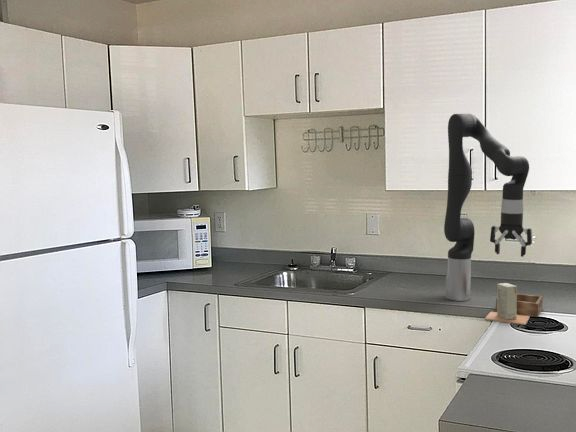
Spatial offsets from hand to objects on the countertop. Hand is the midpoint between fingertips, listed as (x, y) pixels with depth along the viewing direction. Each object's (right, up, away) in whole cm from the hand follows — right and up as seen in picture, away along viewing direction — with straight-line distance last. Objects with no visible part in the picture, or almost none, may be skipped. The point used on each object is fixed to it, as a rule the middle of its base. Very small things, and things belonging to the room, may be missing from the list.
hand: (510, 255), depth 230 cm
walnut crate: (+7, -22, +11) cm, 25 cm away
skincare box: (-1, -23, +1) cm, 23 cm away
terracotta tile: (-1, -23, 0) cm, 23 cm away
